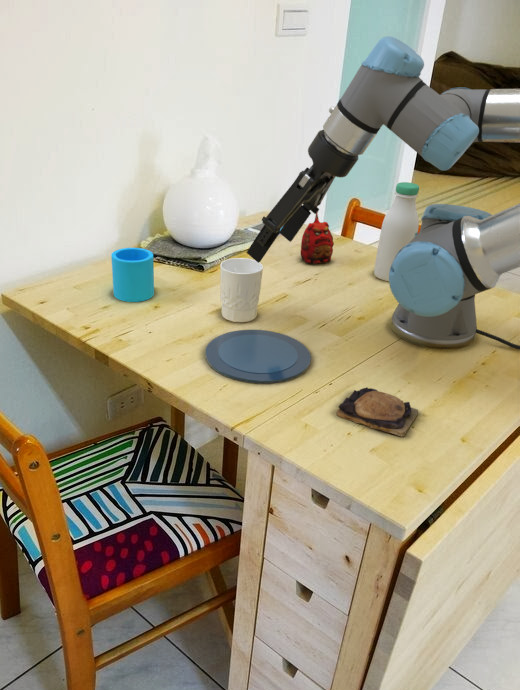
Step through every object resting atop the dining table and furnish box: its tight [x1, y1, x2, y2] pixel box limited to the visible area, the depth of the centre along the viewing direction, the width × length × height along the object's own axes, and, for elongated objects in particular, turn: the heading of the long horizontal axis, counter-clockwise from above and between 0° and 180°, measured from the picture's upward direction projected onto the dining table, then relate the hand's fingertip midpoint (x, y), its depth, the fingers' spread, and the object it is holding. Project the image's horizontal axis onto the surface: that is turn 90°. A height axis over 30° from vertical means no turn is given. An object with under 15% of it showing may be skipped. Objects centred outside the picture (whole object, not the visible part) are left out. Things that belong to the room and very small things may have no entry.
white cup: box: [219, 257, 264, 323], centre depth 122 cm, size 8×8×10 cm
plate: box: [204, 329, 312, 385], centre depth 111 cm, size 18×18×1 cm
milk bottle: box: [373, 181, 420, 282], centre depth 139 cm, size 8×8×20 cm
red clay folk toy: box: [300, 206, 335, 265], centre depth 147 cm, size 8×7×15 cm
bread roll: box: [336, 386, 420, 438], centre depth 96 cm, size 11×8×4 cm
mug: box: [110, 247, 155, 303], centre depth 130 cm, size 12×8×8 cm
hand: (269, 246), depth 114 cm, fingers open, 13 cm apart
